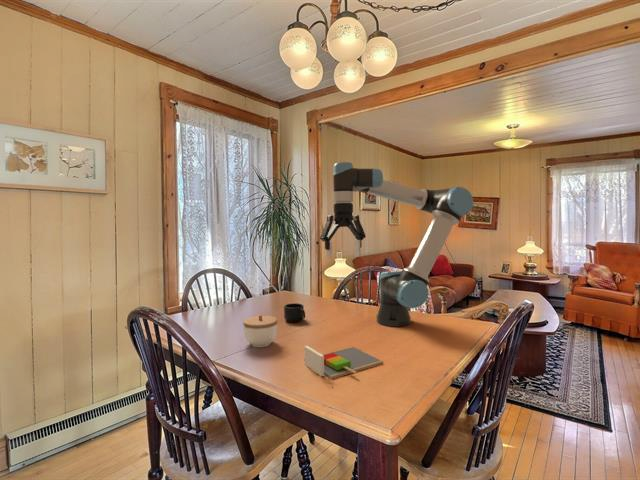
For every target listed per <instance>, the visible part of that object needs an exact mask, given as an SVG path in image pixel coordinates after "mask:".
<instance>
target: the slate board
mask: <svg viewBox="0 0 640 480" xmlns="http://www.w3.org/2000/svg"><path fill="white" fill-rule="evenodd" d="M331 353H334V354H337V355H339V356H340V357H342V358H344V359H346V360H348V361H350V362H351V366H350V367H349V368H351V369H352V370H354V371H356V372H359V371H362V370H366V369H369V368H372V367H376V366H379V365H382V364H383V363H384V360H381V359H378V358H377V357H375V356H372V355H371V354H369V353H366V352H364V351H362V350H360V349H359V348H356V347H355V346H349V347H345V348H342V349H337V350H333V351H329V352H324V353H321V354H322V355H327V354H331ZM304 362H305V358H304ZM348 374H349V375H350V374H353V373H352V372H350V371H349V370H347V369H345V368H344V369H341V370H338V371H336V370H335V369H333V368H331V367H329V366H328V365H326V364H324V376H326V377H328V378H329V379H330V380H332V379H336V378H339V377H341V376H342V377H343V376H345V375H346V376H347V375H348Z"/></svg>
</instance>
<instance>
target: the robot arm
mask: <svg viewBox="0 0 640 480" xmlns="http://www.w3.org/2000/svg"><path fill="white" fill-rule="evenodd" d="M332 170H333V173H332V174H333V175H332V180H333V182H332V183H333V202H334V204H333V214H334V215H331V214H330V215H329V214H328V215H327V217H326V221H325V223H324V228H323V230H322V232H321V234H320V237H319V239H320V240H322V241H324V250H325V251H326V259H329V260H331V259H333V242H332V239H333V237H334V235H335V234H336V233H337V231H338V229H340V228H344V227H345V228H346V227H347V228H348V229H349V230H350V232H351V234H352V235H353V236H354V237H355V239H354V256H355V257H361V248H362V245H363V243H362V241H363V240H364V239H365V238H367V236H366V233H365V230H364V228H363V226H362V224H361V221H360V215H358V214H356V215H355V214H354V215H353V213H354V204H353V203H352V202H354V192H360V193H364V194H367V195H372V196H375V197H379V198H382V199H387V200H391V201H395V202H398V203H402V204H405V205H409V206H413V207H415V208H416V210H419V211H423V212H427V213H429V214H431V215H433V218H432V219H431V222H430V224H429V226H428V227H427V230H426V232H425V234H424V236H423V237H422V239H421V241H420V243H419V246H418V248H416V249H417V250H416V251H415V253H414V255H413V257H412V259H411V262H410V263H409V265H408V266H407V267H405V268H403V269H402V270H395V271H382V272H381V273H380V276H379V288H380V289H379V291H380V292H379V293H380V294H379V295H380V296H379V297H380V298H379V299H380V301H379V302H380V303H379V304H380V305H379V308H378V311H377V312H378V313H377V315H376V322H377V323H378V324H380V325H382V326H388V327H405V326H409V325H410V324H411V323H412V321H411V320H412V319H411V315H410V311H409V309H415V308H419V307H421V306H423V304H425V303H426V302H427V300H428V297H429V291H428V290H429V288H428V285H429V284H430V279H429V275H430V272H431V271H432V269H433V267H434V265H435V263H436V261H437V260H438V257H439V255H440V253H441V251H442V248H443V247H444V245H445V243H446V241H447V239H448V237H449V235H450V233H451V231H452V229H453V227H454V226H456V225H459V224H460V222H461V219H462V218H463V216H466V215H469V214H470V213H471V211H472V210H473V208H474V198H473V195H472V193H471V192H470V191H469V190H468V189H467V188H465V187H462V186H452V187H450V188H448V187H447V188H442V189H428V188H427V189H426V188H422V189H418V188H415V187H411V186H409V185H408V186H407V185H404V184H400V183H395V182H392V181H390V180H385V179H384V174H383V171H382V169H380V168H373V167H372V168H355V167H354V166H353V163H352V162H351V161H350V162H349V161H348V162H347V161H340V162H336V163H334V165H333V169H332ZM333 222H334V223H333Z"/></svg>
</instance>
